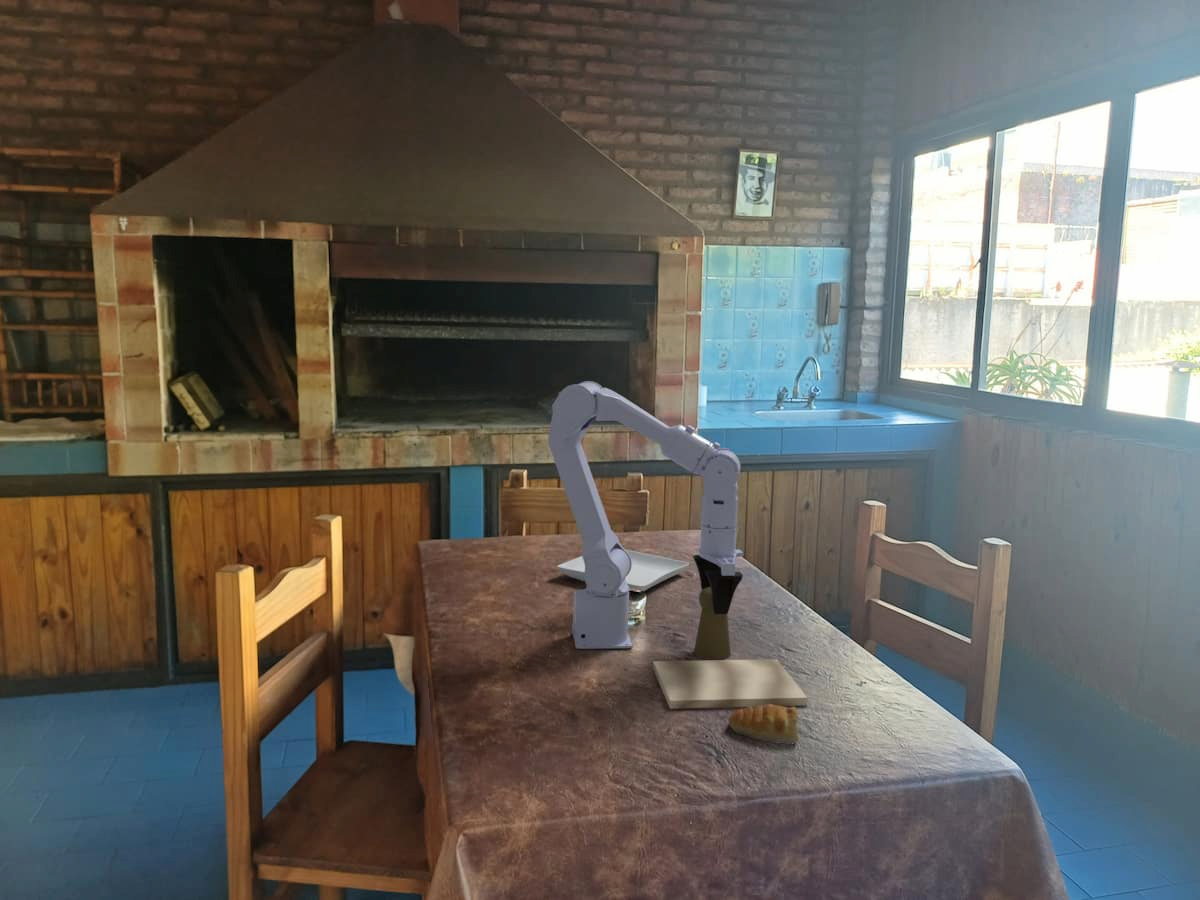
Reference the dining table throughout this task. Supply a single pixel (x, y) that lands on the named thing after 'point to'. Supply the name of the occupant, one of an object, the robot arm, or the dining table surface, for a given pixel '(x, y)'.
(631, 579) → the salad plate
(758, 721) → the pastry
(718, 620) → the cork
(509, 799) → the dining table surface
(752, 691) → the birch board
